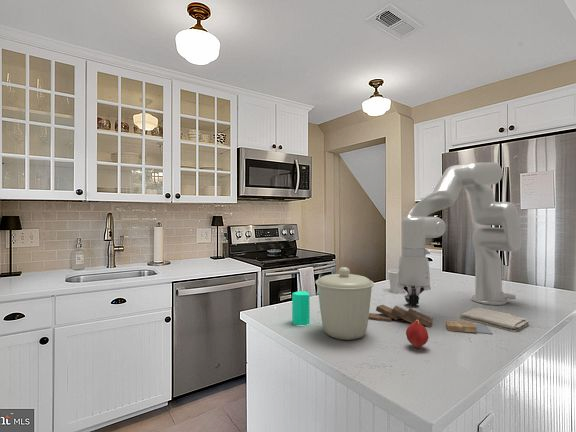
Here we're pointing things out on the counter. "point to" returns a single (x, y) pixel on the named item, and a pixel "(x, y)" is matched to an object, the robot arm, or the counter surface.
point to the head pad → (482, 329)
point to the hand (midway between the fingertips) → (413, 305)
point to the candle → (300, 308)
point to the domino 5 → (461, 326)
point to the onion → (417, 334)
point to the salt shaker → (408, 297)
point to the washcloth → (495, 319)
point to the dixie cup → (394, 281)
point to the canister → (344, 304)
